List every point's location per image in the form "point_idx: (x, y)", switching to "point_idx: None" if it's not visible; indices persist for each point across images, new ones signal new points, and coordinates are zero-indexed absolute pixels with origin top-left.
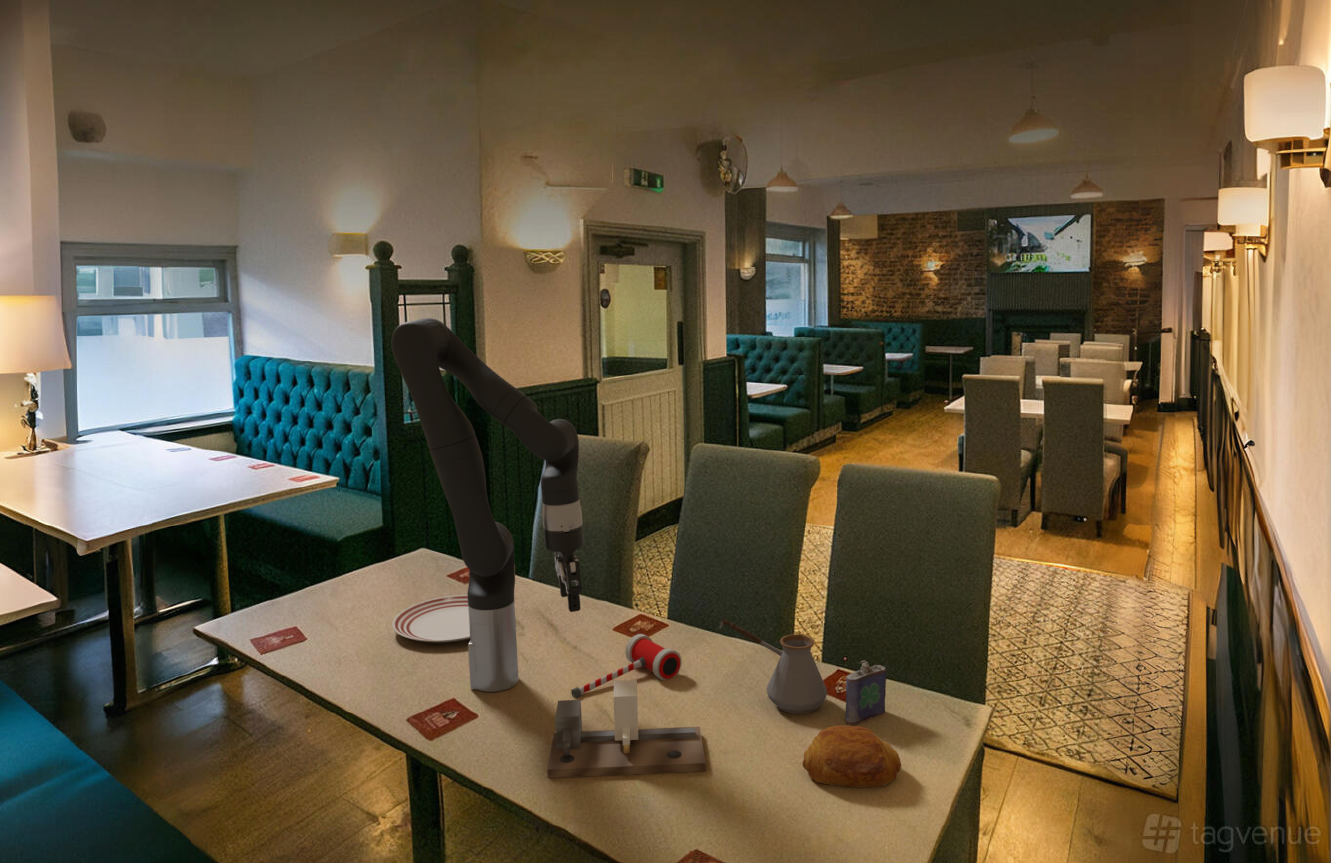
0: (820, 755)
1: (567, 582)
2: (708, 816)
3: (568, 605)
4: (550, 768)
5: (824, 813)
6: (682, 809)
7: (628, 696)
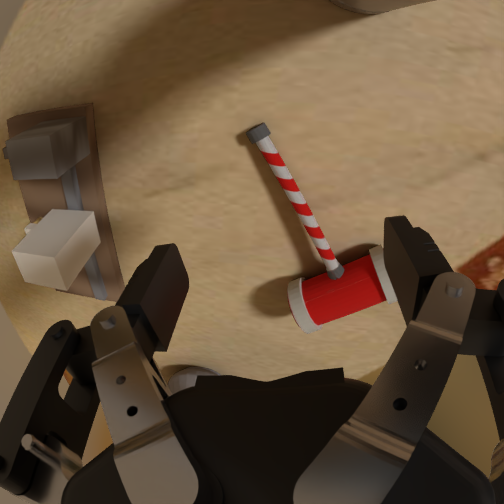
0: None
1: (41, 370)
2: (9, 270)
3: (156, 257)
4: (8, 123)
5: (42, 335)
6: (8, 254)
7: (20, 270)
